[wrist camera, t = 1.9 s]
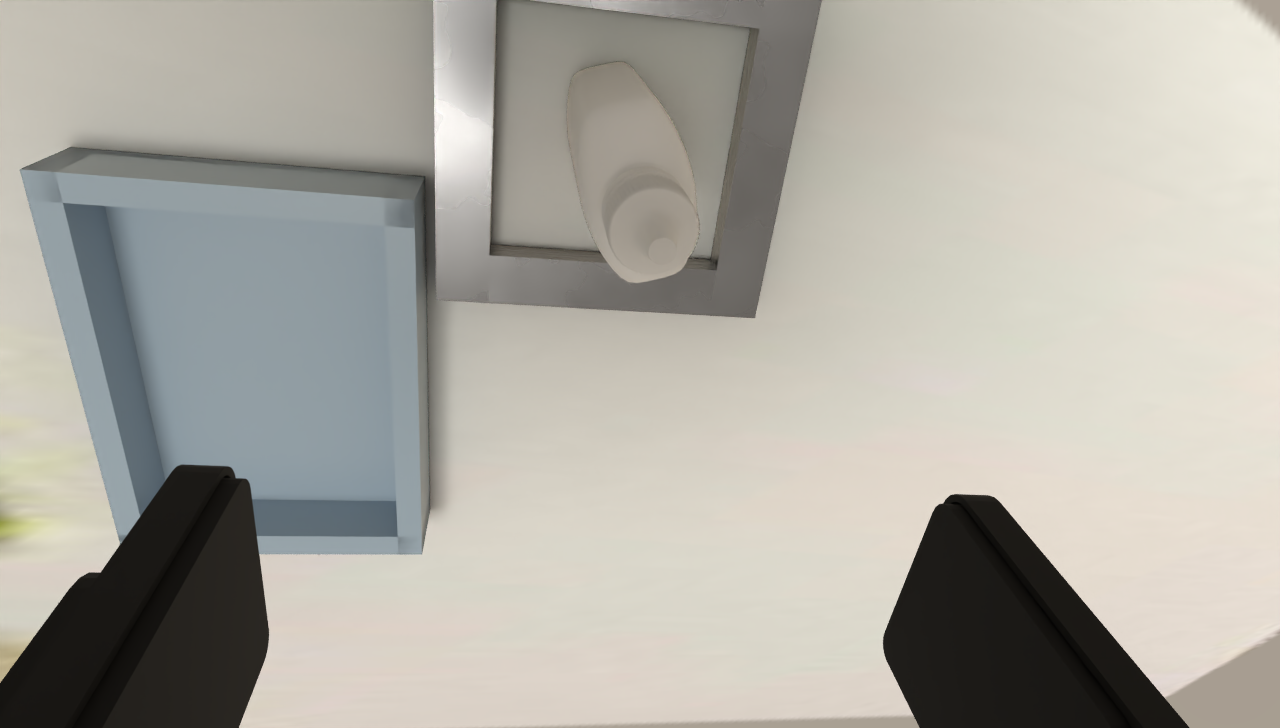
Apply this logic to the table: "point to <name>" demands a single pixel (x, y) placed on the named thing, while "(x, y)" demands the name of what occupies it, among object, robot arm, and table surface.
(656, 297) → the gray square frame
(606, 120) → the eye dropper bottle
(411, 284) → the tray
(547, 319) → the table surface
